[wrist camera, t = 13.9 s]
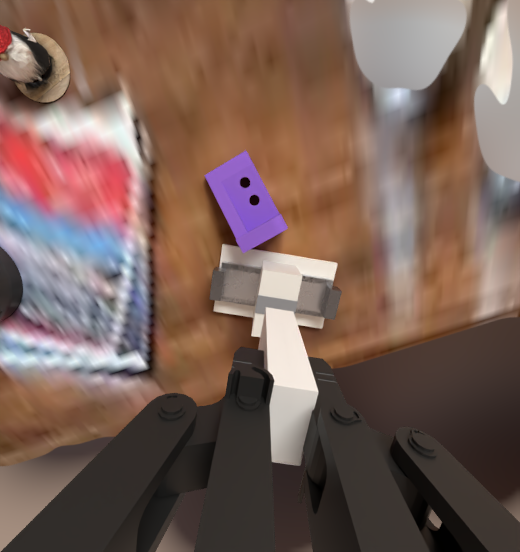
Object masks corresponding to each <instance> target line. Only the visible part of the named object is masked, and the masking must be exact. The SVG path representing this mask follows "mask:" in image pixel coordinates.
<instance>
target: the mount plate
mask: <svg viewBox="0 0 520 552" xmlns="http://www.w3.org/2000/svg"><path fill="white" fill-rule="evenodd" d="M263 260H265V261H271V262H277V263H283V264H289V265H295V266H296V267H297V268H298V270H299V272H300V273H301V274H305V275H311V276H317V277H323V278H329V279H332V280H333V281H334V276H335V272H336V268H337V263H335V262H329V261H323V260H317V259H311V258H305V257H299V256H293V255H287V254H282V253H276V252H270V251H264V250H258V249H250V250H248V251H247V252H245V253H243V252H242V250H241V249H240V247H239V246H234V245H228V244H222V252H221V259H220V268H221V267H222V262H223V261H227V262H233V263H239V264H245V265H251V266H257V267H262V261H263ZM332 285H333V284H332ZM254 308H255V306H249V305H243V304H237V303H231V302H225V301H216V300H215V304H214V311H215V312H221V313H227V314H234V315H240V316H246V317H252V318H253V314H254ZM295 318H296V321H297V325H302V326H308V327H314V328H321V329H322V327H323V322H324V317H317V316H311V315H305V314H299V313H295Z"/></svg>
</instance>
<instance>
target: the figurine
mask: <svg viewBox="0 0 520 552" xmlns="http://www.w3.org/2000/svg"><path fill="white" fill-rule="evenodd" d="M29 31H30V29H25V28H24V29H23V32H24V33H25V34H24V35H21V34H18V33H15V32H13V31H10V30H9V29H8V28H7V27H4V26H1V25H0V73H1V74H2V75H4V76H5V77H7V78H9V79H11V80H12V81H14V82H15V83H16V86H17V87H18V88H19V89H20V91H21V92H22V93H23V94H24V95H26V96H27V97H28V98H30V99H32V100H34V101H37V102H51V101H54V100H56V99H58V98H59V97H61V96H62V95H63V94H64V93H65V91H66V90H67V89H68V88H67V87H68V86H69V81H70V70H69V64H68V63H69V62H68V61H67V60H68V59H67V57H66V56H65V53H64V52H63V50H62V49H61V48H60V46H59V45H58V44H57V43H56V42H55V41H54V40H52V39H51V38H50V37H48V36H46V35H43V34H40V33H30V32H29ZM44 73H45V76H44V78H43V79H42V78H41V77H42V75H43V74H44ZM34 80H39V81H38V82H36V83H33V81H34Z"/></svg>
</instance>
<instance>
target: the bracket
mask: <svg viewBox="0 0 520 552" xmlns="http://www.w3.org/2000/svg"><path fill="white" fill-rule="evenodd" d="M205 177H206V179H207V181H208V183H209V185H210V187H211V189H212V191H213V193H214V195H215V197H216V199H217V201H218V203H219V205H220V207H221V209H222V211H223V213H224V215H225V217H226V219H227V221H228V223H229V225H230V227H231V229H232V231H233V233H234V235H235V237H236V242H237V243H238V245H239V247H240V249H241V250H242V252H243V253H245V252H247V251H248V250H250V249H252V248H254V247H256V246H257V245H259V244H261V243H263V242H265V241H267V240H268V239H270V238H272V237H274V236H276V235H277V234H279V233H281V232H283V231H284V230H286V229H287V228H288V227H287V225H286V223H285V221H284V219H283V218H282V216H281V214H279V212H278V210H277V209H276V207H275V205H274V203H273V201H272V199H271V197H270V195H269V193H268V191H267V189H266V187H265V185H264V184H263V182H262V180H261V178H260V176H259V174H258V172H257V170H256V168H255V166H254V164H253V162H252V161H251V159H250V157H249V155H248V153H247V152H246V151H244V152H243V153H241V154H239V155H238V156H236V157H234V158H233V159H231V160H229V161H228V162H226V163H224V164H223V165H221V166H219V167H218V168H216V169H214V170H213V171H211V172H209V173H208V174H206V175H205ZM243 177H247V178H249V180H250V185H249V187H247V188H243V187H241V185H240V180H241V179H242V178H243ZM252 195H257V196H258V197H259V199H260V201H259V204H258V205H255V206H254V205H251V204H250V202H249V199H250V197H251V196H252Z"/></svg>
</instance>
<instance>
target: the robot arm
mask: <svg viewBox="0 0 520 552" xmlns="http://www.w3.org/2000/svg"><path fill="white" fill-rule="evenodd" d="M21 297H22V281H21V277H20V273H19V271H18V269H17V267H16V265H15V263H14V262H13V260H12V259H11V257H10V256H9V255H8V254H7V253H6V252H5V251H4V250H3V249H2V248H1V247H0V321H1V320H4V319H5V318H7V317H9V316H10V315H11V314H12V313H13V312H14V311H15V310H16V309H17V307H18V305H19V303H20V300H21ZM303 452H304V456H305V463H306V467H305V471H304V474H303V479H302V482H301V486H300V490H299V494H298V503H302V499H303V495H304V494H305V501H306V508H307V514H308V521H309V528H310V535H311V542H312V549H313V552H520V522H519V521H518V520H516V518H515V517H514V516H513V515H512V514H511V513H510V512H509V511H508V510H506V508H504V507H503V505H501V504H500V503H499V502H498V501H497V500H496V499H495V498H494V497H493V496H492V495H491V494H490V493H489V492H488V491H487V490H486V489H485V488H484V487H483V486H482V485H481V484H480V483H479V482H478V481H477V480H476V479H475V478H474V477H473V476H472V475H471V474H470V473H469V472H468V471H467V470H466V469H465V468H464V467H463V466H462V465H461V464H460V463H459V462H458V461H457V460H456V459H455V458H454V457H453V456H452V455H451V454H450V453H449V452H448V451H447V450H446V449H445V448H444V447H443V446H442V445H441V444H440V443H439V442H437V441H436V440H435V439H434V438H433V437H431V436H429V435H428V434H426V433H424V432H423V431H420V430H418V429H415V428H412V427H401V428H398V429H397V431H396V433H395V436H394V437H391V436H388V435H386V434H383V433H381V432H378V431H376V430H374V429H371V428H369V427H368V425H367V423H366V421H365V419H364V418H363V416H362V415H361V413H360V412H358V411H357V410H356V409H355V408H354V407H352V406H350V405H348V404H346V401H345V399H344V396H343V394H342V392H341V390H340V387H339V386H338V383H337V381H336V378H335V376H334V374H333V372H332V369H331V367H330V366H329V365H328V364H327V363H326V362H325V361H324V360H323V359H320V358H313V357H307V353H306V350H305V347H304V344H303V341H302V337H301V334H300V331H299V328H298V325H297V321H296V318H295V315H294V312H293V311H287V310H281V309H274V308H268V307H266V309H265V314H264V320H263V325H262V331H261V336H260V342H259V347H258V350H257V349H251V348H244V347H240V348H239V349H238V350H237V351H236V352H235V354H234V359H233V364H232V369H231V371H230V372H229V375H228V382H227V388H226V394H225V396H224V397H223V399H221V400H220V401H219V402H217V403H214V404H212V405H207V406H199V407H197V406H196V403H195V402H194V401H193V399H192V398H190V397H188V396H186V395H184V394H178V393H171V394H165V395H162V396H159V397H157V398H155V399H154V400H152V401H151V402H150V403H149V404H148V405H147V406H146V407H145V408H144V409H143V410H142V411H141V412H140V413H139V414H138V415H137V416H136V417H135V418H134V419H133V420H132V421H131V422H130V423H129V424H128V425H127V426H126V427H125V428H124V429H123V430H122V431H121V432H120V433H119V434H118V435H117V436H116V437H115V438H114V439H113V440H112V441H111V442H110V443H109V444H108V445H107V446H106V447H105V448H104V449H103V450H102V451H101V452H100V453H99V454H98V455H97V456H96V457H95V458H94V459H93V460H92V461H91V462H90V463H89V464H88V465H87V466H86V467H85V468H84V469H83V470H82V471H81V472H80V473H79V474H78V475H77V476H76V477H75V478H74V479H73V480H72V481H71V482H70V483H69V484H68V485H67V486H66V487H65V488H64V489H63V490H62V491H61V492H60V493H59V494H58V495H57V496H56V497H55V498H54V499H53V500H52V501H51V502H50V503H49V504H48V505H47V506H46V507H45V508H44V509H43V510H42V511H41V512H40V513H39V514H38V515H37V516H36V517H35V518H34V519H33V520H32V521H31V522H30V523H29V524H28V525H27V526H26V527H25V528H24V529H23V530H22V531H21V532H20V533H19V534H18V535H17V536H16V537H15V538H14V539H13V540H12V541H11V542H10V543H9V544H8V545H7V546H6V547H5V548H4V549H3V550H2V551H1V552H155V551H156V549H157V547H158V545H159V544H160V542H161V540H162V538H163V536H164V534H165V532H166V530H167V529H168V527H169V525H170V523H171V521H172V519H173V517H174V515H175V513H176V511H177V509H178V507H179V506H180V504H181V502H182V500H183V498H184V496H185V493H186V492H189V491H194V490H199V489H204V488H207V490H206V495H205V500H204V505H203V510H202V515H201V520H200V525H199V530H198V535H197V540H196V546H195V550H194V552H275V532H274V507H273V483H272V462H277V463H285V464H291V465H298V466H300V464H301V459H302V456H303ZM432 509H433V511H434V512H435V513H436V515H437V516H438V517H439V518H440V520H441V521H442V524H441V527H440V528H439V529H438V528H437V527H435V526H434V525H433V524H432V522H431V521H430V520H429V518H428V517H429V515H430V513H431V510H432Z"/></svg>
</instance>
